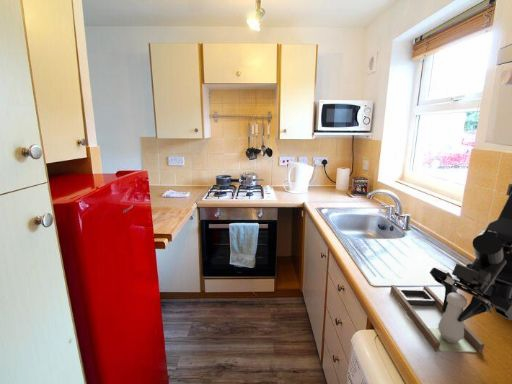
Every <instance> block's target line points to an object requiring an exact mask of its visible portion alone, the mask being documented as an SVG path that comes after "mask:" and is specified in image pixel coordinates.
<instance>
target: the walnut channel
mask: <svg viewBox="0 0 512 384" xmlns="http://www.w3.org/2000/svg"><path fill="white" fill-rule="evenodd" d="M398 289H399V288H398V287H397V286H396V285H395V284H391V286H390V293H391V292H392V293H391V294H392V296H393V297H394V296H395V297H394V298H395V300H396V301H397V302H398V303H400V304H399V305H400V306H401V308H402V309H403V310H404V311H405V313H406V314H407V316H408V317H409V319H410V320H411V321H412V322H413V324H414V325H415V326H416V328H417V329H418V330H419V332H420V333H421V335H422V336H423V337H424V339H425V340H426V341H427V343H428V344H429V345H430V347H431V348H432V349H433V351H435V352H450V353H451V352H452V353H453V352H455V353H479V354H480V353H481V354H482V353H483V352H484V348H485V343H483V341H482V339H480V338H479V337H478V336H477V335H476V334H475V333H474V332H473V331H472V330H471V329H470V328H469V327H468V326H467V325H466V324H465V323H464V337H463V338H462V339H461V340H460V341H458V342H457V343H450V342H448V341H446V340H445V339H443V338H442V336H441V334H440V332H439V329H438V327H437V328H435V327H433V328H432V327H428V325H427V324H426V323H425V322H424V321H423V319H422V318H421V317H420V315H419V314H418V313H417V312H416V311H415V309H414V308H413V307H412V305H410V304H409V303H408V302H407V300H406V299H405V298H404V297H403V295H402V294H401V293H400V292H399V290H398ZM422 290H425V291H426V292H427V293H428V294H429V295H430V296H431V297H432V298H433V299H434V300H435V303H434V307H436V308H437V309H438V311H439V312H440V313H441V314H442V315H443V313H444V312H443V311H442V308H443V303H444V301H443V300H441V298H439V297H438V296H437V295H436V294H435V293H434V291H433V290H431V289H430V287H428V285H423V289H422Z"/></svg>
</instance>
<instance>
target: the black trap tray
mask: <svg viewBox="0 0 512 384" xmlns="http://www.w3.org/2000/svg"><path fill="white" fill-rule="evenodd" d="M397 289H398V290H399V292H400V293H401V294H402V295H403V297H404V298H405V299H406V300H407V302H408V303H409V304H410V305H411V307H412V306H414V307H415V306H418V307H419V306H421V307H435V305H434V303H435V300H434V299H433V298H432V297H431V296H430V295H429V294H428V293H427V292H426V291H425V290H423V289H418V288H417V289H414V288H413V289H411V288H397Z"/></svg>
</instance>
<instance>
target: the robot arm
mask: <svg viewBox="0 0 512 384" xmlns="http://www.w3.org/2000/svg"><path fill="white" fill-rule="evenodd" d="M506 190H507V191H506V196H508V198H507V199H506V201H505V203H504V206H503V208H502V210H501V212H500V214H499V216H498V218H497V219H496V220H494V221H490V223H488V225H487V226H486V228H485V229H483V230H482V231H481V232H480V233H479V234H478V235H476V237H474V238H473V239H472V249H473V252H474V256H475V258H474V260H473V261H472V262H471V263H470V262H469V263H467V265H466V266H464V265H462V264H460V263H456V264H455V265H454V268H453V271H452V272H451V273H450V272H449V271H447V270H445V269H443V268H441V267H439V266H435V267H434V266H433V267H432V268H431V270H430V271H429V274H430V275H431V277H432V278H433V279H434V281H435V282H437V283H438V284H440V285H442V286H443V287H444V290H445V291H444V298H443V308H442V311H443V312H444V313H445V310H446V307H447V304H448V302H447V295H448V294H449V293H452V292H455V293H458V290H459V291H462V292H464V293H466V294H468V295H470V296H472V297H471V300H470V303H469V304H467V305H466V307H465V308H464V309H463V312H462V314H461V315H460V316H459V318H458V321H459V322H462V321H466V320H468V319H470V318H473V317H474V316H477V315H481V314H483V313H486V312H487V313H489V314H491V313H492V310H493V308H494V310H495V312H496V314H497V315H500V316H501V317H503V318H505V319H507V320H509V321H512V183H508V188H507V189H506ZM452 275H453V276H454V277H456V279H455V278H453V276H452ZM457 279H458V280H457Z"/></svg>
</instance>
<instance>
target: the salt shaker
mask: <svg viewBox="0 0 512 384" xmlns="http://www.w3.org/2000/svg"><path fill="white" fill-rule="evenodd" d="M447 302H448V304H447V307H446V310H445V313H443V314H442V316H441V317H440V320H439V322H438V324H437V325H438V326H437V328H438V329H439V332H440V334H441V336H442V338H443V339H445V340H446V341H448V342H450V343H457V342H458V341H460V340H461V339H462V338H463V337H464V324H465V323H464V321H465V320H464V321H462V322H459V321H458V318H459V316H460V315H461V314H462V312H463V311H464V309H465V308H466V307H467V306H468V299H467V298H466V297H465V296H464V295H463V294H461V293H458V292H457V293H455V292H452V293H449V294H448V295H447ZM464 338H465V337H464Z"/></svg>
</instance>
